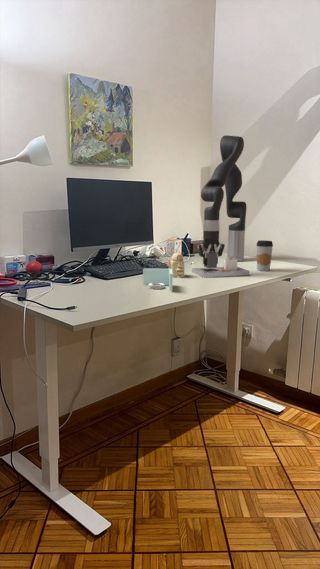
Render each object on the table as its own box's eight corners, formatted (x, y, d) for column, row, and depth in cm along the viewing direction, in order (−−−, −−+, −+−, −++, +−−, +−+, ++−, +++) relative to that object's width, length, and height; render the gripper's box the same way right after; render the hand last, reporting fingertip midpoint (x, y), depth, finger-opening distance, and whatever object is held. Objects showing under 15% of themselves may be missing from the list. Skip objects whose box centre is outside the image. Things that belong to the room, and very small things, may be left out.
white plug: (224, 272, 228) (224, 255, 226) (232, 272, 229) (233, 255, 228) (228, 274, 224) (229, 257, 222) (236, 273, 225) (237, 256, 223)
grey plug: (203, 266, 223) (204, 249, 222) (212, 266, 225) (213, 249, 223) (207, 268, 219) (208, 250, 218) (216, 267, 221) (217, 250, 219)
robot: (167, 279, 210) (167, 246, 208) (163, 276, 218) (163, 244, 215) (189, 279, 213) (190, 246, 210) (184, 276, 220) (185, 244, 217)
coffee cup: (270, 269, 242) (272, 240, 239) (272, 271, 234) (274, 242, 231) (254, 268, 242) (255, 240, 240) (255, 271, 234) (257, 241, 231)
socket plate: (191, 273, 227) (191, 266, 227) (235, 271, 235) (235, 264, 234) (203, 278, 214) (203, 271, 214) (249, 275, 222) (249, 269, 221)
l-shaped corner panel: (143, 286, 197) (143, 268, 195) (171, 286, 197) (171, 268, 195) (142, 292, 185) (142, 273, 184) (172, 292, 185) (172, 273, 184)
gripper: (221, 228, 224) (220, 263, 228) (194, 229, 220) (193, 264, 223) (228, 230, 217) (227, 266, 221) (200, 230, 213) (199, 267, 216)
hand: (210, 265), depth 222 cm, fingers closed on grey plug, 4 cm apart
